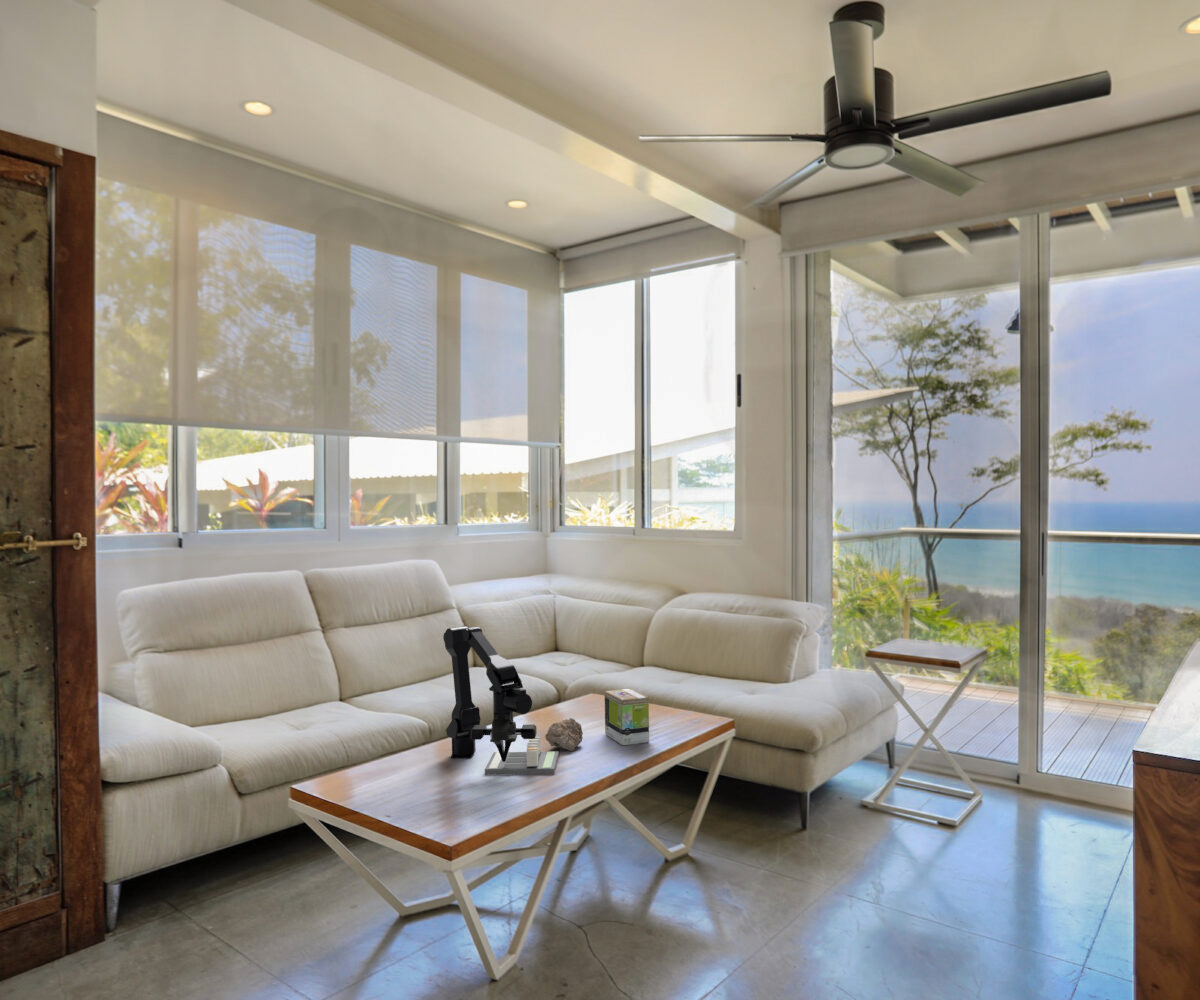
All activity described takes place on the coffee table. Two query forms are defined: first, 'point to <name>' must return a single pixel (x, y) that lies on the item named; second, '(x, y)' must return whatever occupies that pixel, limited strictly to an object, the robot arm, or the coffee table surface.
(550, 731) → the coral
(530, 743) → the block
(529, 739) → the block
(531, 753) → the block
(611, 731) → the tea box
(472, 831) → the coffee table surface
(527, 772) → the breaker panel
